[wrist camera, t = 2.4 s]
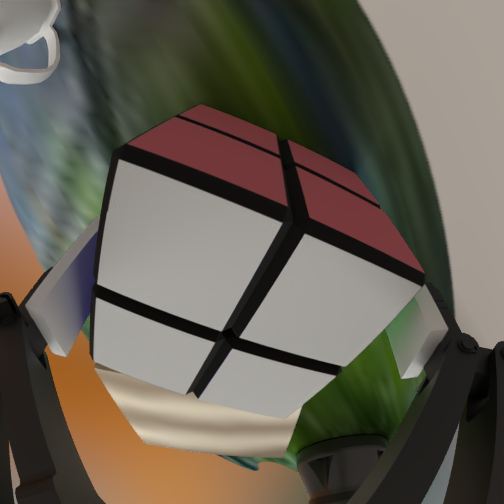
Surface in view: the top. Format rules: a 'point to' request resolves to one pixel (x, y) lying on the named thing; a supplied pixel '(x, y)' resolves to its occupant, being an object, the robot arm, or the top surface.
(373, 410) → the top surface
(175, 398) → the stand
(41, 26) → the cup
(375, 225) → the puzzle cube
